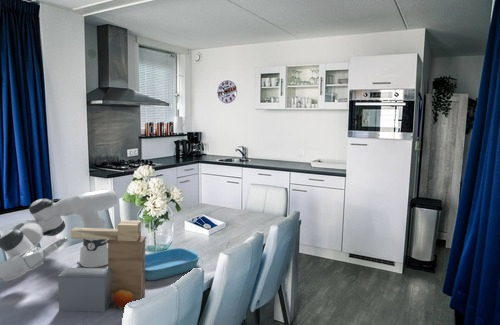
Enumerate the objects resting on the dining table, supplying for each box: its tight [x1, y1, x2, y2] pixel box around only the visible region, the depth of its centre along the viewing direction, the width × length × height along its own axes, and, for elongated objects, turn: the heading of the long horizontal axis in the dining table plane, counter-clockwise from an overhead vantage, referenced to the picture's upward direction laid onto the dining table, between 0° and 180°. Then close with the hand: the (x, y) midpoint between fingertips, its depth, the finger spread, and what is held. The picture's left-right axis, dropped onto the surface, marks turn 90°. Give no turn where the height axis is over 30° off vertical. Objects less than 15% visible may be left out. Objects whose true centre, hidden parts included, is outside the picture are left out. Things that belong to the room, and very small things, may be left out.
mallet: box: [70, 219, 142, 241], centre depth 156 cm, size 7×28×7 cm, turn 93°
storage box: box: [57, 267, 112, 312], centre depth 148 cm, size 8×18×14 cm, turn 93°
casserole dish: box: [145, 247, 200, 281], centre depth 188 cm, size 37×22×7 cm, turn 133°
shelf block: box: [107, 235, 147, 301], centre depth 158 cm, size 7×14×26 cm, turn 93°
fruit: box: [112, 290, 134, 311], centre depth 150 cm, size 8×8×8 cm
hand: (62, 242), depth 155 cm, fingers open, 8 cm apart
